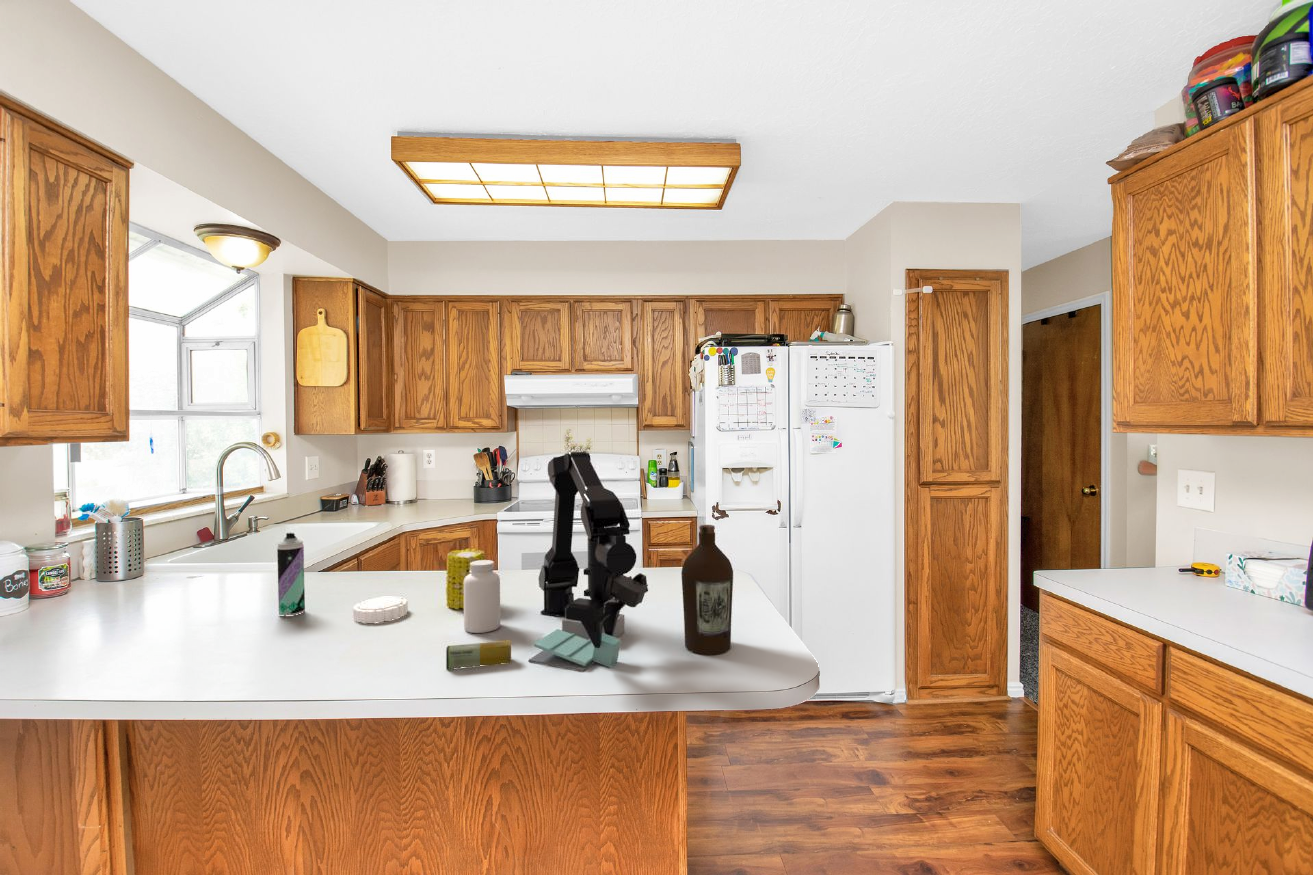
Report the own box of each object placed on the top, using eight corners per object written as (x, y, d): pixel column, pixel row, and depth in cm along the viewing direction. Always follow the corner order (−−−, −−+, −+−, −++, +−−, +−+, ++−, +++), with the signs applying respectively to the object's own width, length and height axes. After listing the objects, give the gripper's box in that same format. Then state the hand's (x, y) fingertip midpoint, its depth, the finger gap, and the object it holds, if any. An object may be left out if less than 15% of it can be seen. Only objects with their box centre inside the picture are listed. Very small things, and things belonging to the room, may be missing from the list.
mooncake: (360, 628, 132) (360, 613, 132) (347, 615, 142) (347, 601, 142) (414, 617, 140) (414, 602, 140) (399, 605, 149) (398, 591, 149)
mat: (528, 661, 112) (528, 659, 112) (556, 643, 122) (556, 641, 122) (582, 671, 108) (582, 669, 108) (607, 651, 117) (607, 649, 117)
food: (475, 603, 155) (487, 615, 147) (431, 600, 149) (440, 613, 140) (488, 547, 156) (500, 555, 148) (444, 542, 150) (455, 551, 141)
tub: (562, 638, 125) (562, 619, 125) (581, 626, 132) (580, 608, 132) (607, 645, 120) (607, 626, 120) (624, 632, 128) (624, 614, 128)
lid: (532, 649, 113) (536, 624, 112) (556, 634, 121) (560, 611, 120) (602, 676, 107) (607, 650, 107) (623, 658, 115) (627, 634, 114)
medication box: (445, 671, 109) (445, 650, 109) (446, 665, 111) (446, 645, 111) (511, 664, 112) (511, 644, 112) (511, 658, 114) (511, 638, 114)
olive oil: (676, 639, 123) (675, 522, 123) (723, 635, 126) (722, 520, 125) (690, 659, 113) (689, 531, 112) (741, 653, 115) (740, 529, 115)
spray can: (273, 615, 141) (271, 534, 141) (294, 608, 147) (293, 530, 146) (288, 618, 139) (287, 535, 139) (310, 611, 144) (308, 531, 144)
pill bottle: (507, 624, 134) (507, 560, 133) (483, 636, 126) (482, 567, 126) (481, 620, 137) (480, 557, 137) (456, 631, 130) (455, 564, 129)
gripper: (618, 578, 100) (619, 668, 100) (659, 555, 117) (660, 632, 117) (562, 572, 104) (563, 658, 104) (610, 551, 121) (611, 625, 121)
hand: (603, 642), depth 112 cm, fingers open, 5 cm apart
